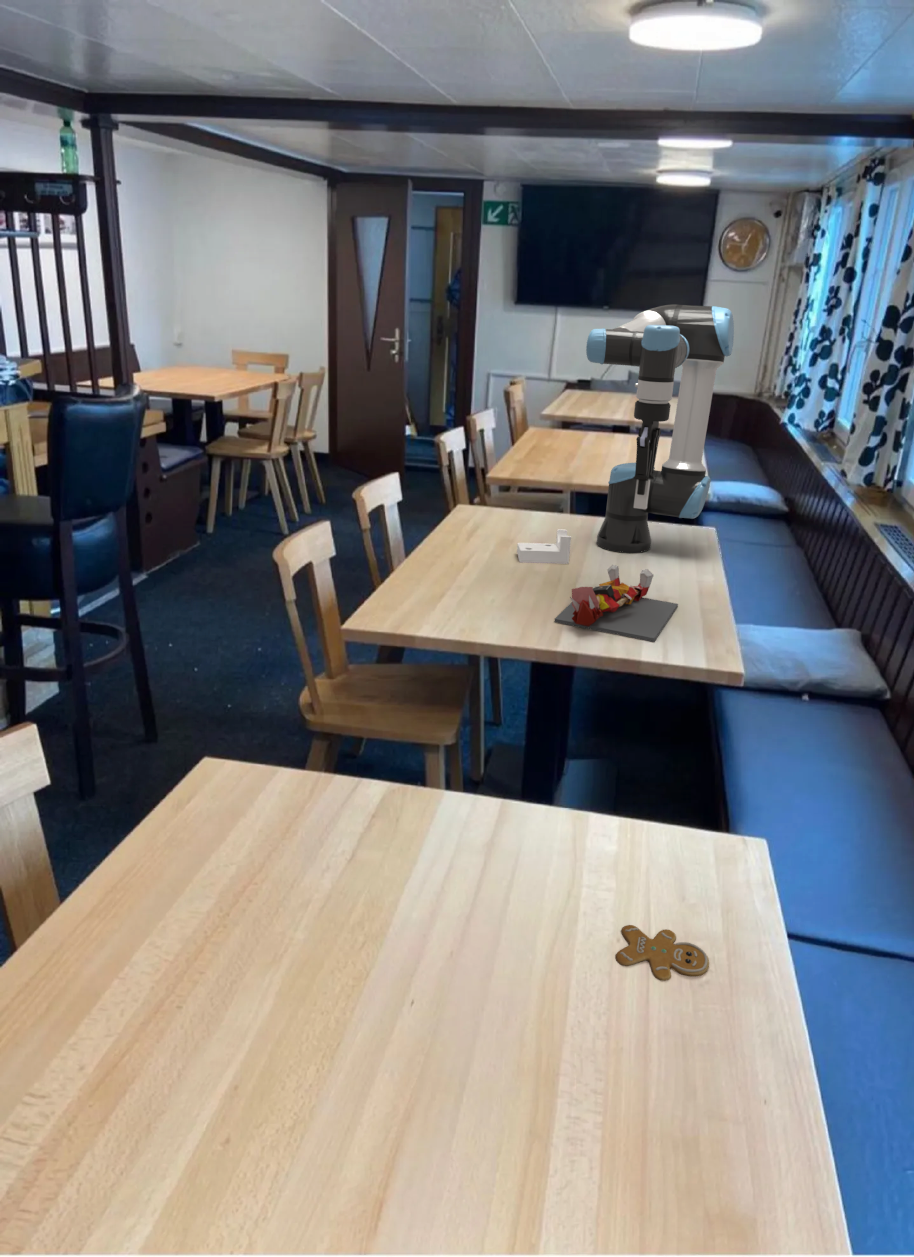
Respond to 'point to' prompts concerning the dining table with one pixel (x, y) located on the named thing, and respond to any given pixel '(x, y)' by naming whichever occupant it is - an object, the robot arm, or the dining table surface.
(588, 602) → the toy
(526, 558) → the bracket
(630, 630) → the mat
